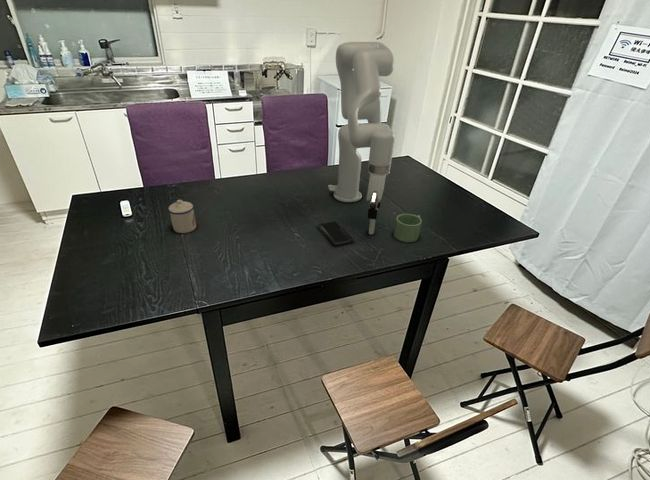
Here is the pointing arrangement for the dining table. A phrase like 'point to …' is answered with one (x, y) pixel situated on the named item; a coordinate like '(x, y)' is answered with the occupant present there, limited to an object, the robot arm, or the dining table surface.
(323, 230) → the phone
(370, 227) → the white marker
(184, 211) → the teacup with lid
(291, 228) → the dining table surface
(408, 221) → the mug
